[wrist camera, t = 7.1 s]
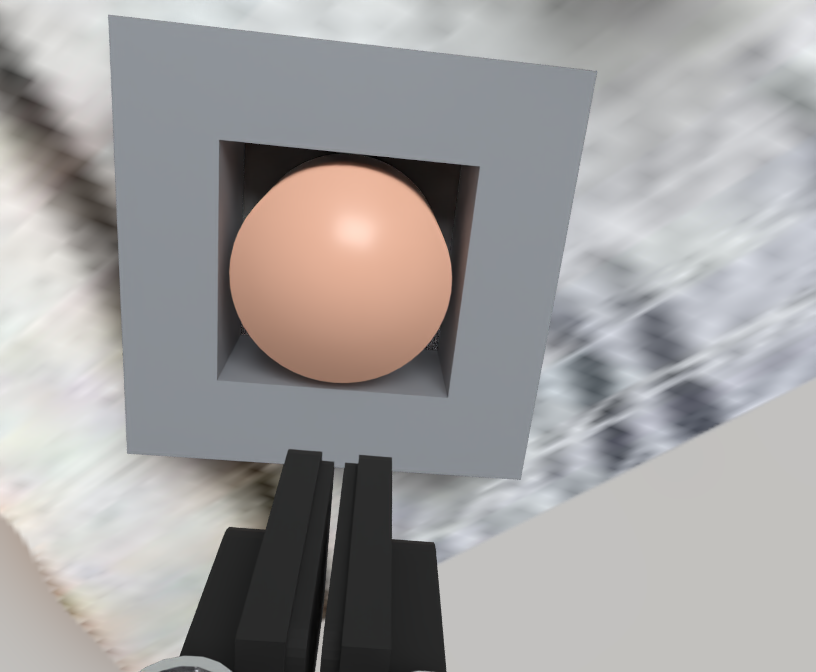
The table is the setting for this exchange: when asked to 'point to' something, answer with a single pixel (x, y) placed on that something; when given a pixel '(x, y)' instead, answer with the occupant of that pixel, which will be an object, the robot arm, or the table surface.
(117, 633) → the table surface
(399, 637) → the robot arm
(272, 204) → the button
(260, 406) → the button base
